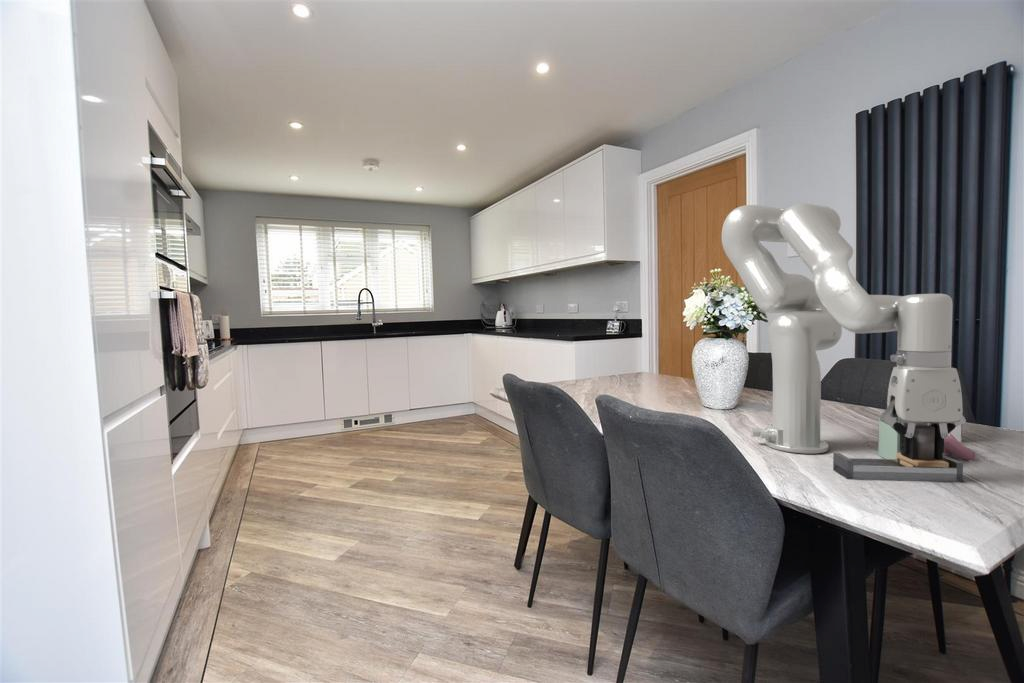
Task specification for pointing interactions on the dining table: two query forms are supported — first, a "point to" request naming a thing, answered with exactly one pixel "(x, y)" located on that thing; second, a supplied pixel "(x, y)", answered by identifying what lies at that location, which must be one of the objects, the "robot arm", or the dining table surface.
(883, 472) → the track
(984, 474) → the dining table surface
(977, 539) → the dining table surface
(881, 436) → the gauge cabinet
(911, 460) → the carriage
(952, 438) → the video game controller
